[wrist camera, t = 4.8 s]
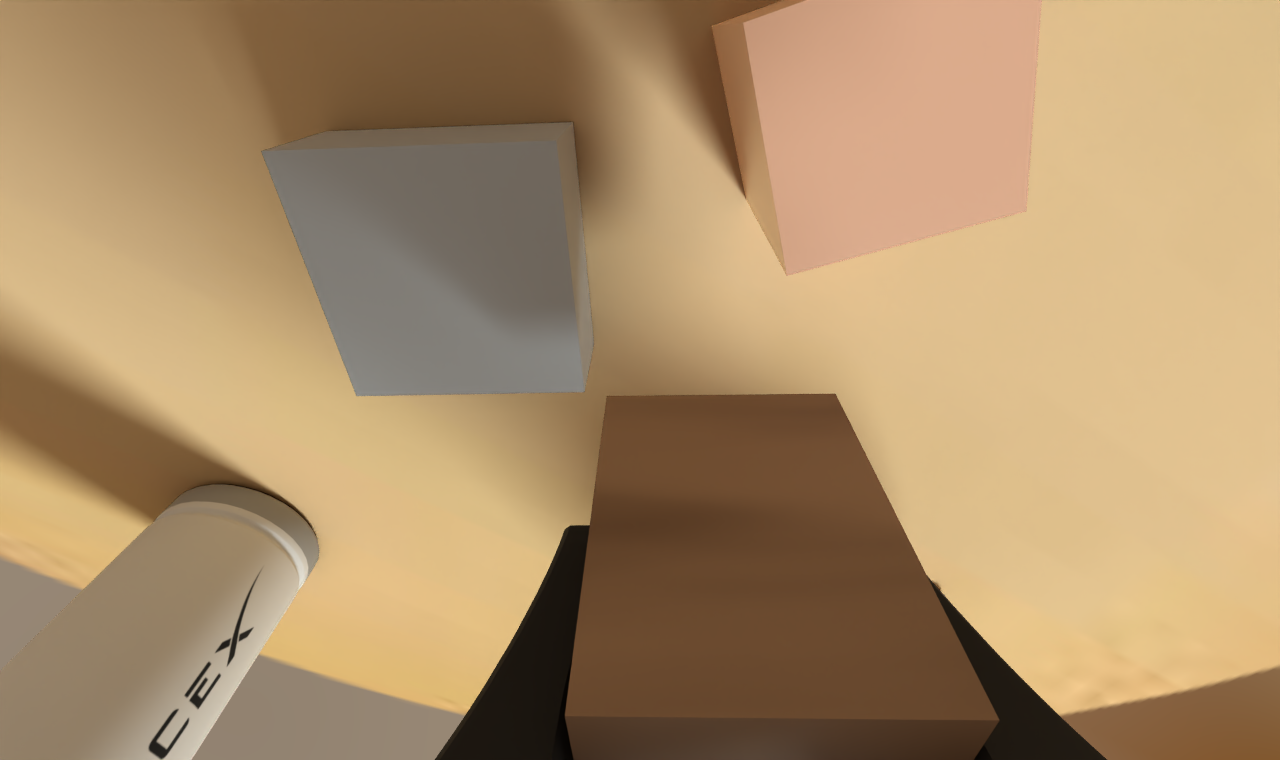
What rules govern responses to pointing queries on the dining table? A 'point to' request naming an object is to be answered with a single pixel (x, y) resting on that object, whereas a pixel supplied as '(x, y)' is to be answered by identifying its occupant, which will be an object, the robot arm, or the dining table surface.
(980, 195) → the terracotta block
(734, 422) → the walnut block
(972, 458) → the dining table surface
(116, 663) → the travel mug
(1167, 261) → the dining table surface
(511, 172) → the base block
